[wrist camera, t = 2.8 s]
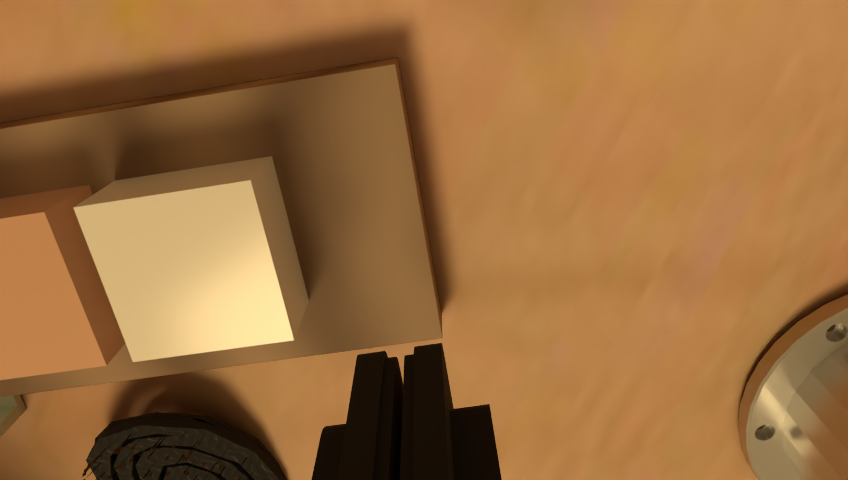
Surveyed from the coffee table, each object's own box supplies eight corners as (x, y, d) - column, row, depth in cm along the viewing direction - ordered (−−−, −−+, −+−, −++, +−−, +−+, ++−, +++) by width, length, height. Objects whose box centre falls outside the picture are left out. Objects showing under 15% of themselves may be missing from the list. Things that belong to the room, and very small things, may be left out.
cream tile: (271, 156, 23) (250, 180, 21) (308, 301, 26) (294, 340, 23) (114, 180, 24) (73, 207, 21) (164, 321, 26) (132, 362, 23)
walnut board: (398, 57, 24) (394, 63, 22) (441, 314, 28) (442, 338, 26) (-101, 139, 25) (-143, 152, 24) (9, 373, 30) (-19, 399, 28)
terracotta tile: (89, 184, 24) (44, 211, 21) (141, 324, 26) (106, 365, 23) (-62, 208, 24) (-126, 238, 22) (2, 343, 27) (-48, 386, 24)
